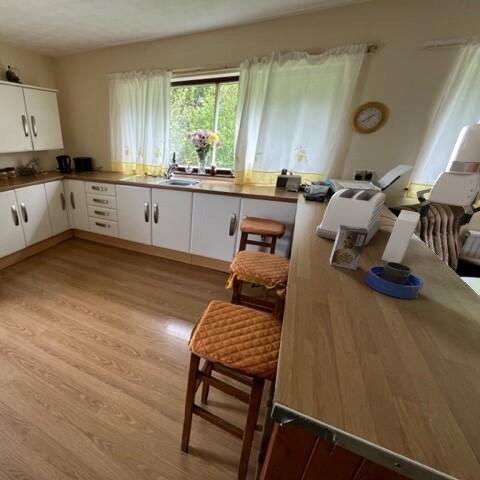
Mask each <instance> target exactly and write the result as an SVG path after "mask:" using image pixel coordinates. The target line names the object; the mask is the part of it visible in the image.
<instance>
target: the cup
mask: <svg viewBox="0 0 480 480" xmlns="http://www.w3.org/2000/svg"><path fill="white" fill-rule="evenodd" d="M383 266H384V269H383V271H382V274H381V276H380V278H381V279H384V280H386V281H389V282H392V283H395V284H400V285H406V282H407V280H408V278H409V276H410V274H412V270H413V269H412V268H411V266H408V265H406V264H403V263H401V262H400V263H396V262H388V261H385V263H384V265H383Z"/></svg>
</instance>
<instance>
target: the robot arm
mask: <svg viewBox="0 0 480 480" xmlns="http://www.w3.org/2000/svg"><path fill="white" fill-rule="evenodd" d="M415 194H416V197H417V201H418V202H419V203H420V206H421V208H420V210H419V212H418V213H419V214H420V218H421V219H423V218H426V217H427V216H428V214H429V211H430V208H431V204H433V203H437V204H444V205H449V206H455V207H456V206H457V207H463V209H464V210H465V212H464V213H463V215H462V216H461V219H460V220H459V223H458V226H459V227H463V226H466V225H469V224H470V222H471V220H472V218H473V216H474V214H477V213H478V212H480V206H476V207H475V204H476V203H477V202H478V201H480V123H471V124H466V125H465V126H464V127H462V129H461V130H460V132H459V135H458V137H457V141H456V143H455V145H454V148H453V149H452V153H451V155H450V158H449V161H448V162H447V165H446V167H445V169H444V170H442V171H441V172H440V174H438V176H437V178H436V180H435V182H434V183H433V185H432V187H431V188H426V189H422V190H418V191H416V193H415ZM424 194H428V196H427V199H426V197H424Z"/></svg>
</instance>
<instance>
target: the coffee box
mask: <svg viewBox="0 0 480 480" xmlns="http://www.w3.org/2000/svg"><path fill="white" fill-rule="evenodd" d="M367 236H368V232H367V229H366V228H360V227H353V226H345V225H340V226H339V229H338V233H337V236H336V240H334V244H333V246H332V250H331V255H330V258H329V265H330V266H333V267H339V268H344V269H348V270H354V271H357V269H358V265H359V263H360V259H361V257H362V253H363V250H364V248H365V246H366V245H365V242H366V239H367Z"/></svg>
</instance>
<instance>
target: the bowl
mask: <svg viewBox="0 0 480 480" xmlns="http://www.w3.org/2000/svg"><path fill="white" fill-rule="evenodd" d="M384 266H385V265H372V266H369V267H368V269H367V271H366V274H365V276H364V283H366V284H367V286H369V287H370V288H372V289H373V290H376V291H377V292H380V293H382V294H385V295H388V296H390V297H395V298H399V299H410V300H411V299H416V298H418V297H419V295H420V293H421V291H422V289H423V287H424V284H425V283H424V281H423V280H422V279H421V278H420V277H419V276H417V275H415V274H413V273H411V274H410V276H409V278H408V280H407V282H406V285H400V284H395V283H392V282H389V281H386V280H384V279H381V278H380V276H381V274H382V271H383V269H384Z"/></svg>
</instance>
